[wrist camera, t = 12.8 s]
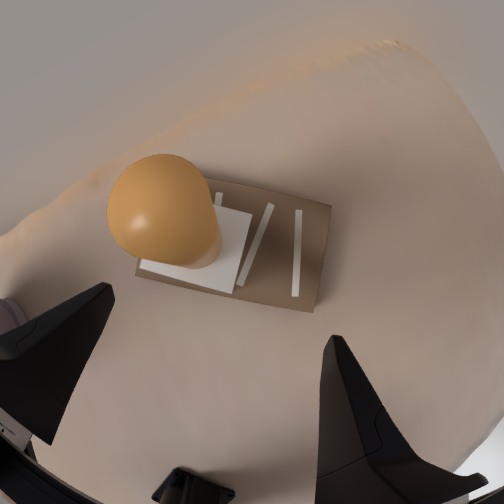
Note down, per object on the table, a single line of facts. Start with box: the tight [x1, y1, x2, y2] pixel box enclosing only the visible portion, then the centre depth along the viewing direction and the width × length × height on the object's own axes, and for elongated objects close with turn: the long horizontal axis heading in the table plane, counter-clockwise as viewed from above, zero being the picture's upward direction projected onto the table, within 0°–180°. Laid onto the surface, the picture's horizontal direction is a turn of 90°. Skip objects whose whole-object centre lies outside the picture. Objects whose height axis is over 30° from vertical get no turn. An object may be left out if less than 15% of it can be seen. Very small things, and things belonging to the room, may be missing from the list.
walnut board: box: [135, 178, 332, 313], centre depth 20 cm, size 8×13×2 cm, turn 78°
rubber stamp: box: [107, 154, 252, 294], centre depth 13 cm, size 5×6×11 cm
